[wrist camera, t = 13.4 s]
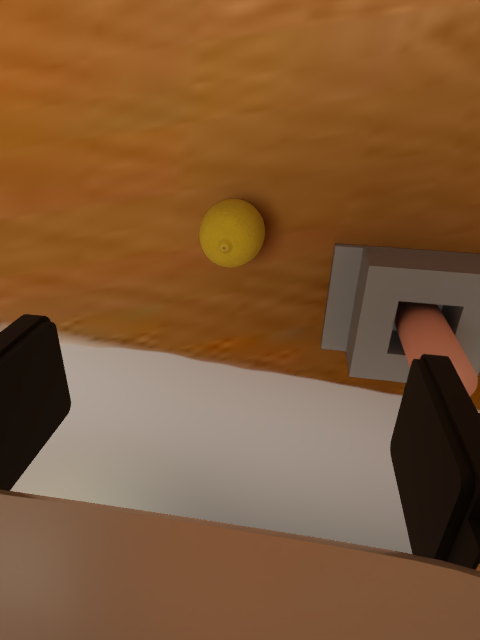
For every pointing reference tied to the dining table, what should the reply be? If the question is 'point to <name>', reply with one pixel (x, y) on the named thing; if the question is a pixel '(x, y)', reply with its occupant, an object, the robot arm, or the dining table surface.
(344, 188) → the dining table surface
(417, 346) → the peg
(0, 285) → the dining table surface
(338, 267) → the socket
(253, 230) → the lemon
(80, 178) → the dining table surface
